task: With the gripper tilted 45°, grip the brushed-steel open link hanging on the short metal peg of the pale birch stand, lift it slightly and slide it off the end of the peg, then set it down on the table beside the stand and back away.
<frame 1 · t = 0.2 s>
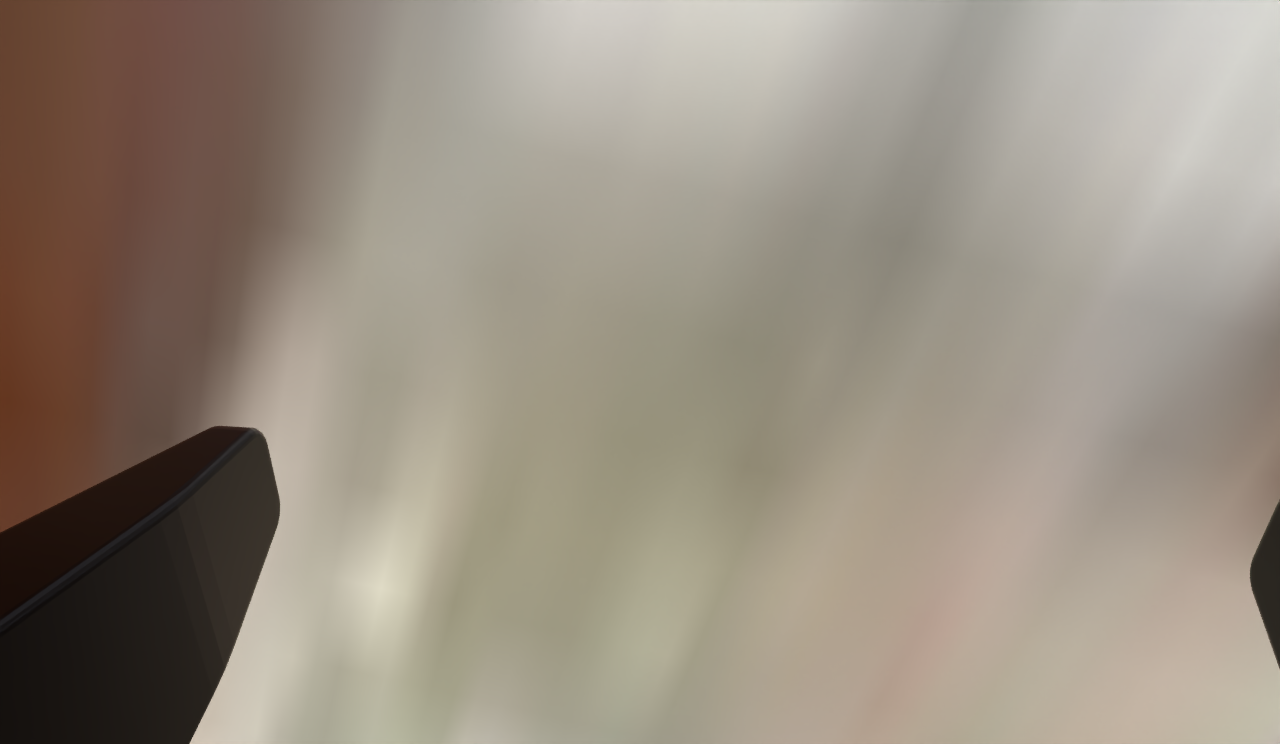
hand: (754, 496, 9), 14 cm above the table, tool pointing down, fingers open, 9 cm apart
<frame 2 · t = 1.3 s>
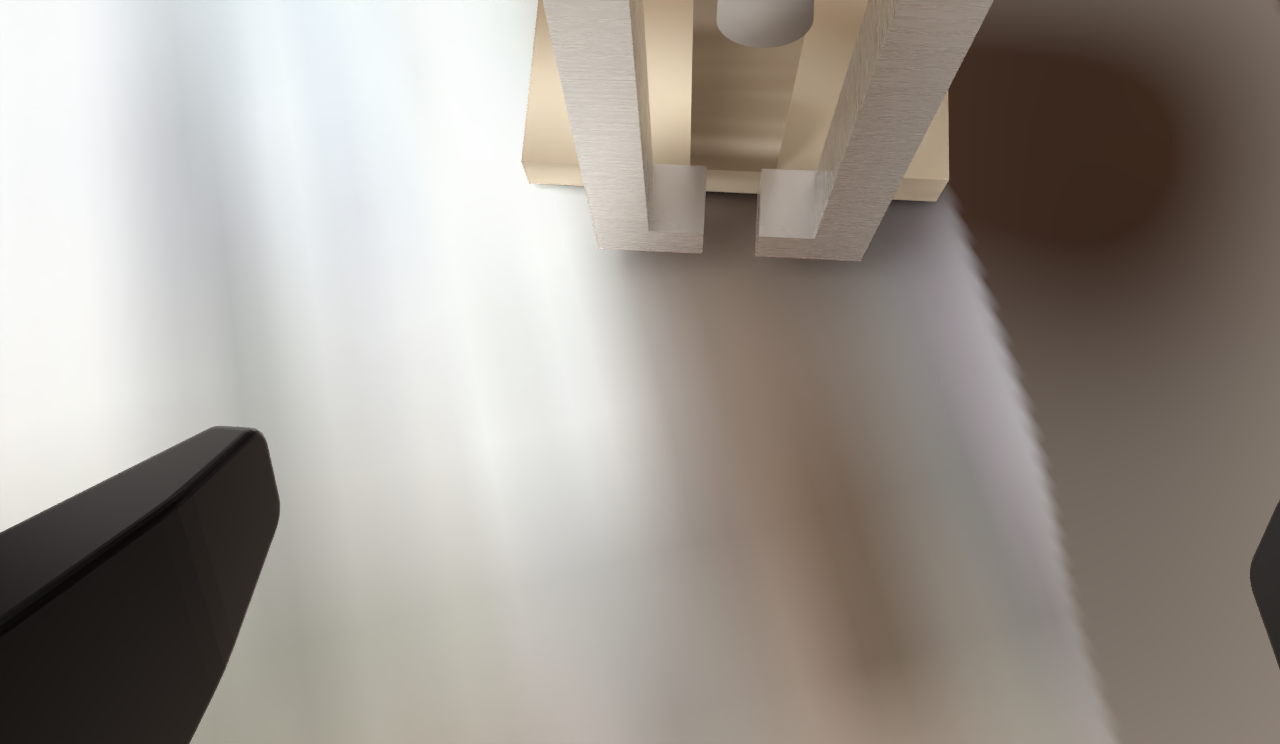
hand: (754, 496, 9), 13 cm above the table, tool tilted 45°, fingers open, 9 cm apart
birch stand: (731, 155, 24), on the table
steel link: (730, 222, 22), point 1 cm above the table, touching birch stand
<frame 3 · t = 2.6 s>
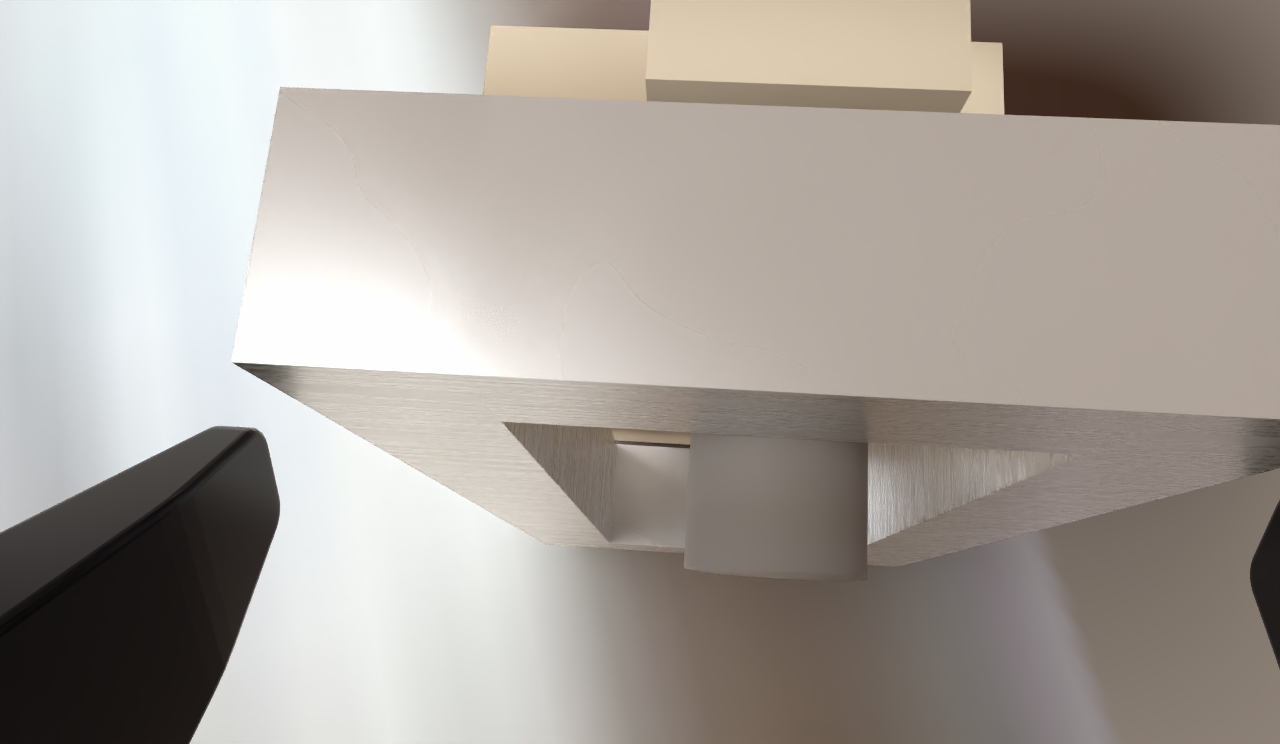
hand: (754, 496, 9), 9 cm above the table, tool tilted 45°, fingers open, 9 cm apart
birch stand: (724, 394, 18), on the table
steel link: (721, 508, 17), point 1 cm above the table, touching birch stand
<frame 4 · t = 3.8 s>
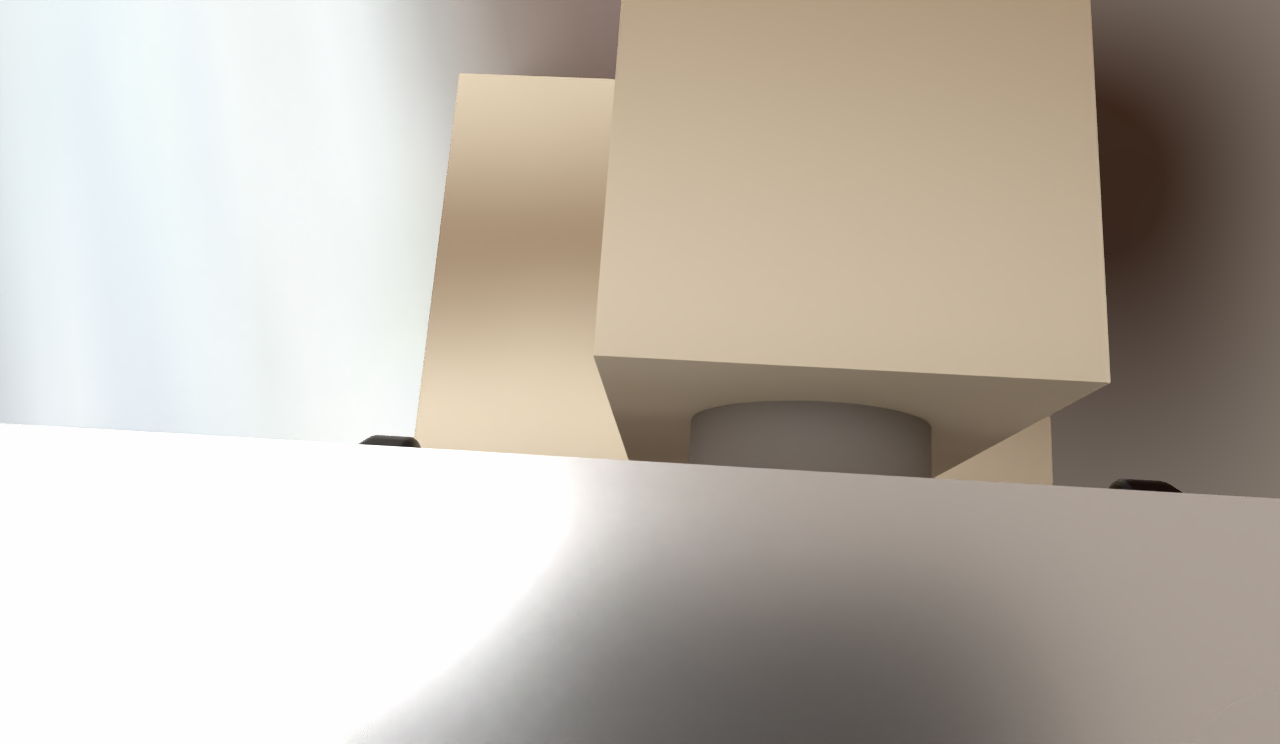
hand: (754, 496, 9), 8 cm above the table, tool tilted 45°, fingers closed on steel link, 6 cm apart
birch stand: (723, 495, 16), on the table
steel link: (719, 639, 15), point 1 cm above the table, touching birch stand, gripper
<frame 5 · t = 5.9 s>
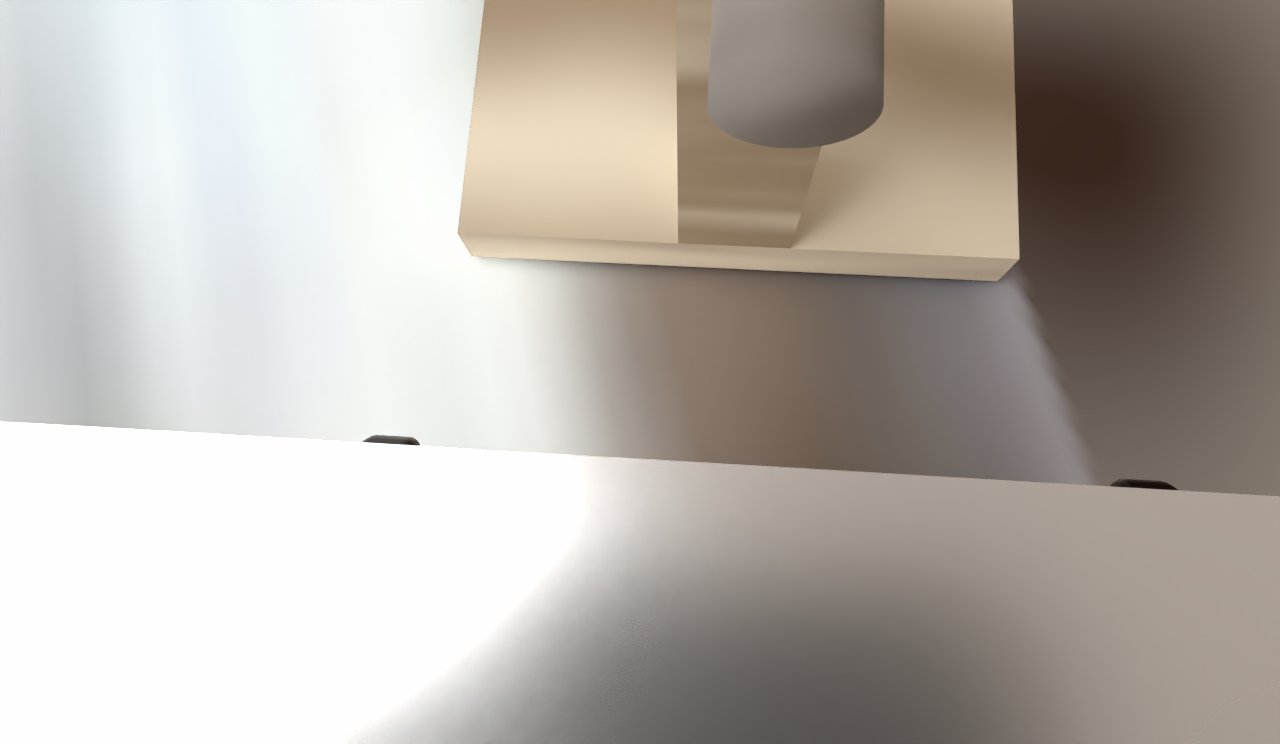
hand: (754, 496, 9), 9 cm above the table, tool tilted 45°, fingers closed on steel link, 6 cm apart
birch stand: (732, 219, 19), on the table
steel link: (719, 638, 15), point 2 cm above the table, touching gripper
when the fingers open (8 cm above the table, at t = 7.9 s): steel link drops 1 cm, on the table.
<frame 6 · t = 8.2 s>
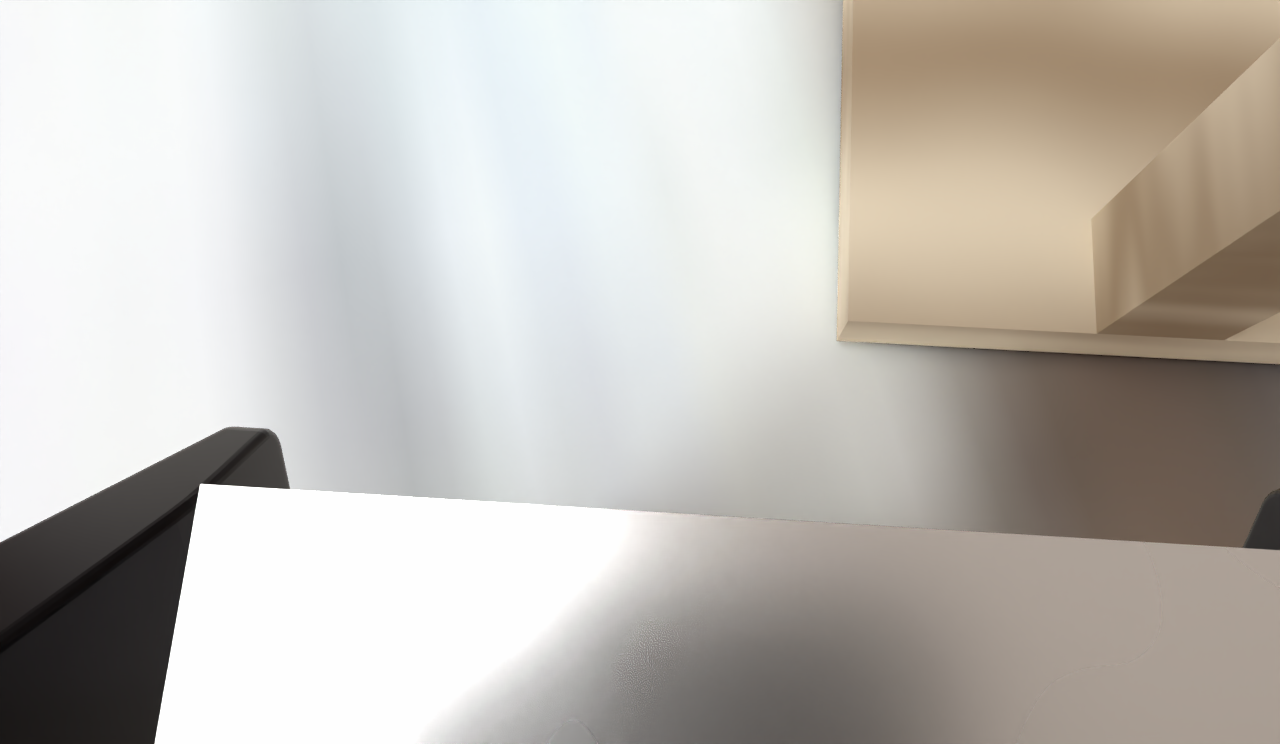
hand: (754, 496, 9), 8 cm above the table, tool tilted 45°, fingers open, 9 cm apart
birch stand: (1123, 301, 17), on the table
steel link: (719, 638, 16), on the table
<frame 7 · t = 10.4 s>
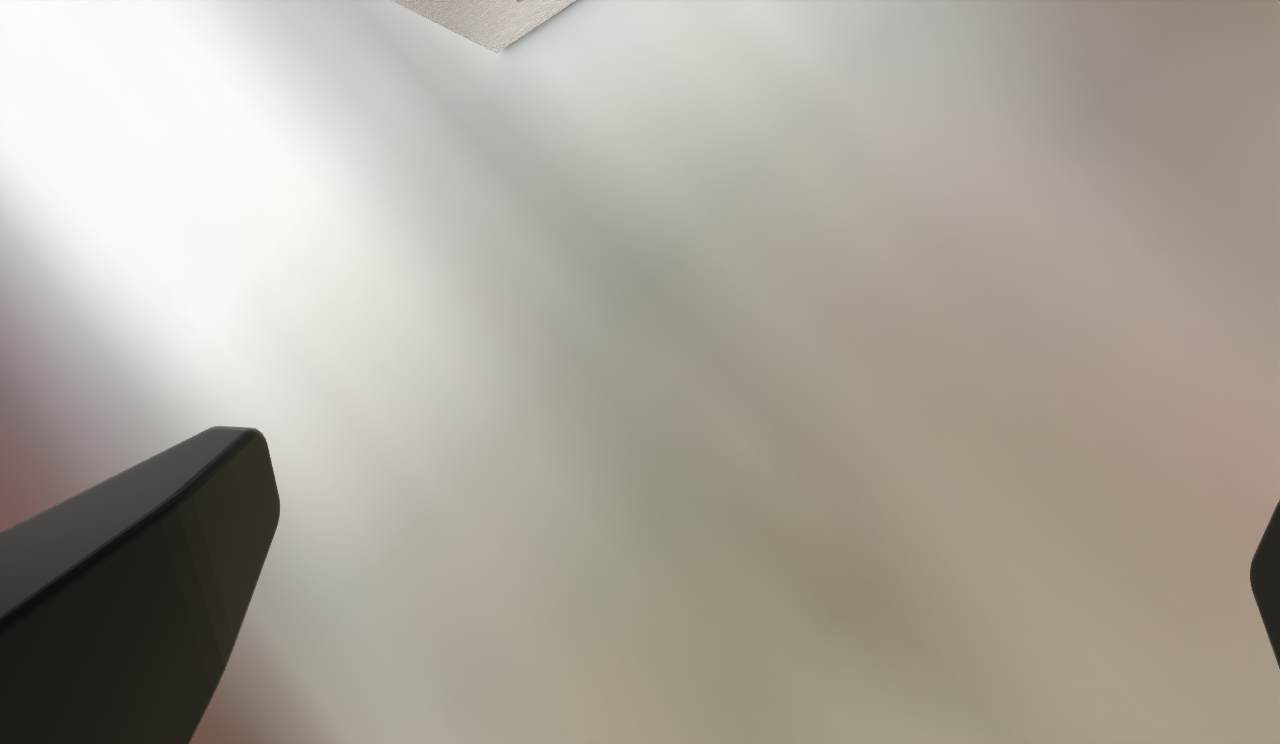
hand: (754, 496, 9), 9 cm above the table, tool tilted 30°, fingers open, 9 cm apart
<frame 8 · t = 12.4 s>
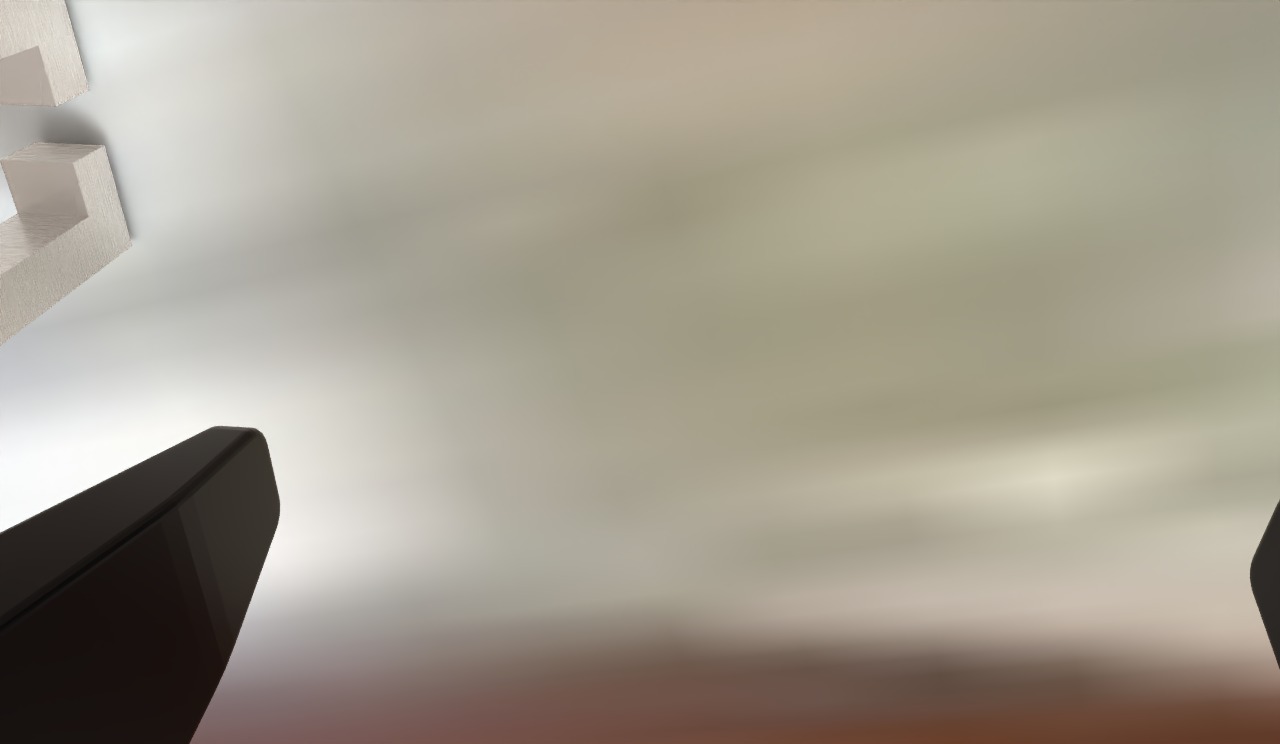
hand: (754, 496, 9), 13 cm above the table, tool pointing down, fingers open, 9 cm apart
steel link: (61, 116, 21), on the table
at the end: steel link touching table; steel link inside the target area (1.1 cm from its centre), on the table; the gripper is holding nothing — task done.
